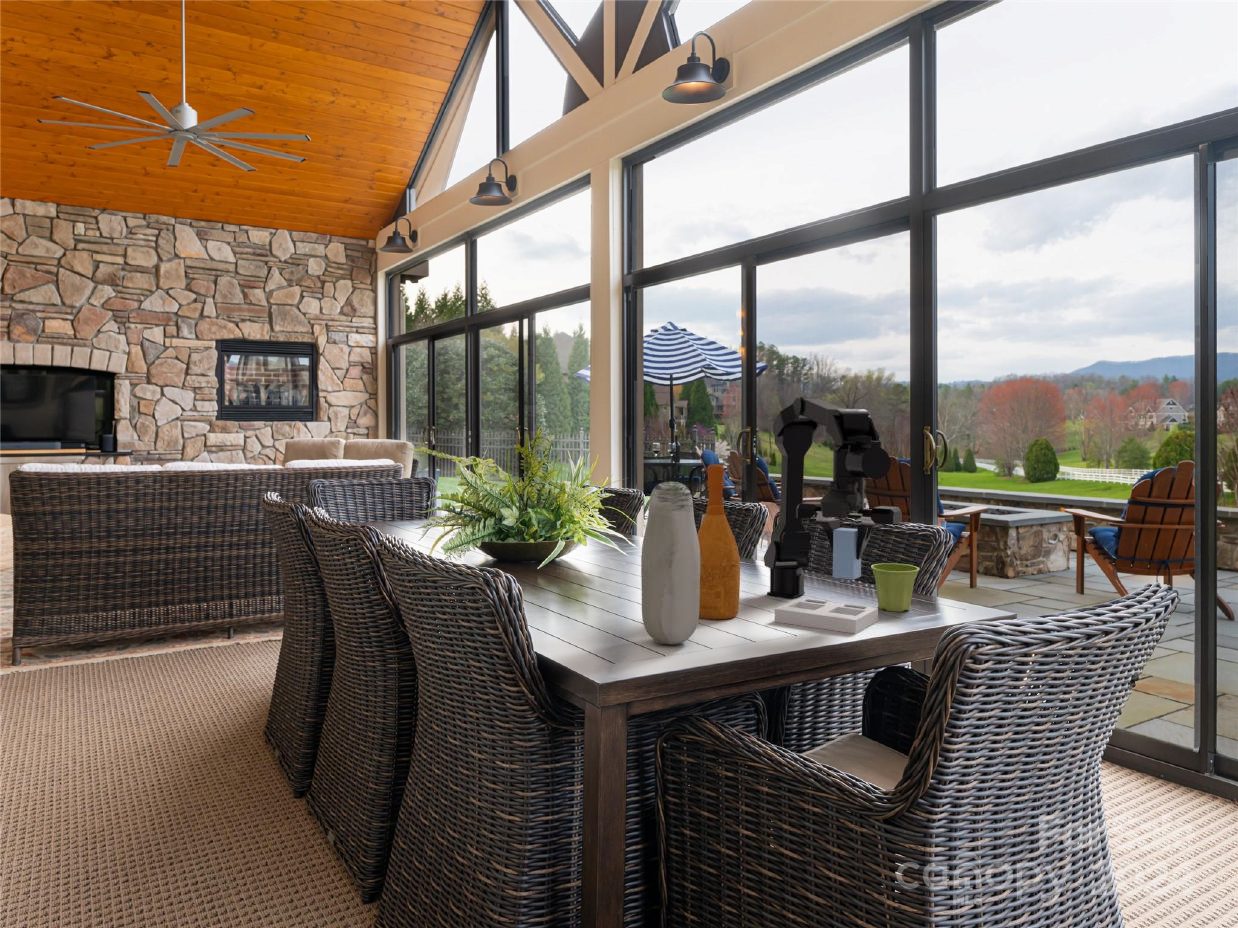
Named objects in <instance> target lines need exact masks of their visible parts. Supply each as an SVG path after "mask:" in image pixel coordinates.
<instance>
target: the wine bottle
mask: <svg viewBox="0 0 1238 928" xmlns="http://www.w3.org/2000/svg"><path fill="white" fill-rule="evenodd" d="M706 469H707V483H706V484H707V485H706V487H707V488H708V497H707V508H706V509H705V510H706V512H705V514H702V515H701V523H700V527H699V529H698V531H697V536H698V541H699V547H700V598H699V618H700V619H706V620H727V619H733V618H734V617H736V616H737V615H738V613H739V608H740V594H741V593H740V592H741V591H740V589H741V588H740V587H741V586H740V585H741V559H740V552H739V549H738V545H737V542H736V538H735V536H734V534H733V531H732V529H731V527H730V524H729V521H728V519H727V516H726V512H725V509H724V501H723V488H724V487H725V481H724V477H725V467H724V466H723V465H722V464H719V463H714V464H713V463H711V464H710V465H708V466H707V468H706Z"/></svg>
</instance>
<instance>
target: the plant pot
mask: <svg viewBox="0 0 1238 928" xmlns="http://www.w3.org/2000/svg"><path fill="white" fill-rule="evenodd" d="M870 569H871V570H872V572H873V576H874V581H875V587H876V595H877V596H876V597H877V603H878V609H880V610H886V611H887V612H898V613H901V612H904V611H910V609H911V605H912V604H911V602H912V597H913V590H914V584H915V579H916V578H917V574H918V572H919V571H920V567H918V566H915V565H911V564H906V563H892V562H891V563H889V562H888V563H887V562H886V563H885V562H884V563H874V564H872V565H871V566H870Z"/></svg>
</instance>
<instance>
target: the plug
mask: <svg viewBox="0 0 1238 928" xmlns="http://www.w3.org/2000/svg"><path fill="white" fill-rule="evenodd" d="M857 537H858V530H857V528H849V527H840V528H838V529H835V530H833V552H832V578H836V579H844V580H852V581H853V580H856V579H858V578H861V577H862V557H861V558H860V559H859V560H857V558H856V548H857Z"/></svg>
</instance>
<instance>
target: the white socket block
mask: <svg viewBox="0 0 1238 928" xmlns="http://www.w3.org/2000/svg"><path fill="white" fill-rule="evenodd" d="M774 622H775V623H782V624H787V625H794V626H795V625H796V626H801V627H802V626H803V627H809V628H815V629H821V630H829V631H835V632H842V633H847V634H858V633H859V632H862V631H863V630H865V629H867V628H869V627H870V626H872V625H874V624H876V623H877V622H879V607H870V606H861V605H854V604H847V603H846V604H845V603H838V602H831V601H823V600H815V599H808V598H797V599H795V600H793V601H790V602H788V603H786V604H785V603H784V604H783V605H780V606H778V607H776V608H774Z"/></svg>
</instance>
